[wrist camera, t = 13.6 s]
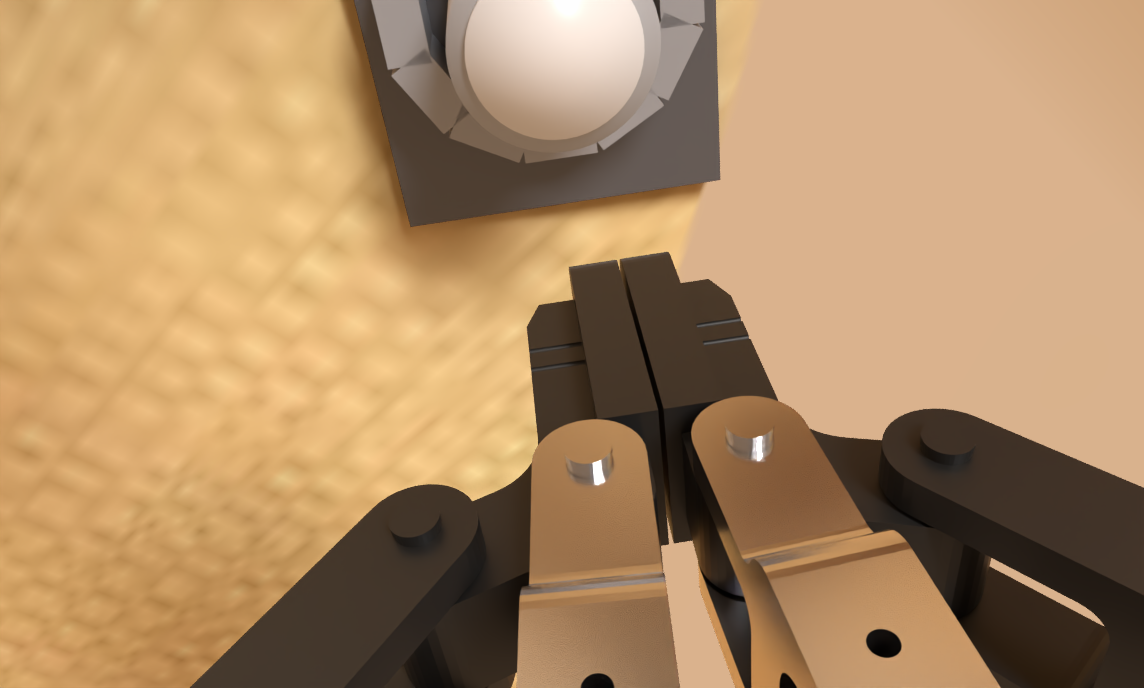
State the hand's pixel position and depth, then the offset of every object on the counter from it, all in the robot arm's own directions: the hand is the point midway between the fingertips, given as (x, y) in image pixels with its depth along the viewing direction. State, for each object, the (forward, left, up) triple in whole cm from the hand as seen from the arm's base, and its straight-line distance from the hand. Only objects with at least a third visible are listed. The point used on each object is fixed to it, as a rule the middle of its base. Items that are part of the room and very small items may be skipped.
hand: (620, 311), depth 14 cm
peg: (0, 0, -20) cm, 20 cm away
